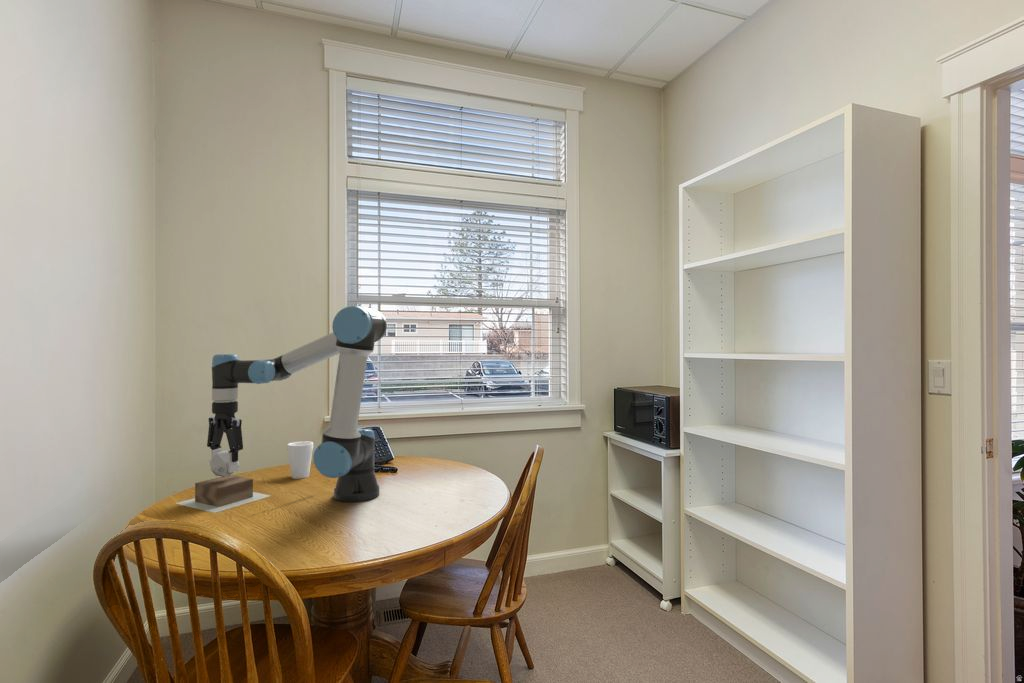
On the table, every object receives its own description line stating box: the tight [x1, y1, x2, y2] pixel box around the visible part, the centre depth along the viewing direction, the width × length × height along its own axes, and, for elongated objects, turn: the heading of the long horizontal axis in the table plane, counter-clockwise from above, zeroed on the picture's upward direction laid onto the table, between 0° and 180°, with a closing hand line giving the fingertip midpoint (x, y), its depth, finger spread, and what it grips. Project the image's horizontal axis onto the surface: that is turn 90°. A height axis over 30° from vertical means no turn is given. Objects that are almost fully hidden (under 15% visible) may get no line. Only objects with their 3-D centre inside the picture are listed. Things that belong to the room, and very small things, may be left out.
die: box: [209, 450, 240, 477], centre depth 172 cm, size 8×9×10 cm
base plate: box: [174, 491, 271, 514], centre depth 172 cm, size 20×20×1 cm
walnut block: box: [194, 474, 254, 507], centre depth 172 cm, size 12×12×6 cm
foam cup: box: [287, 440, 314, 480], centre depth 205 cm, size 10×9×13 cm
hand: (224, 470), depth 172 cm, fingers closed on die, 8 cm apart
